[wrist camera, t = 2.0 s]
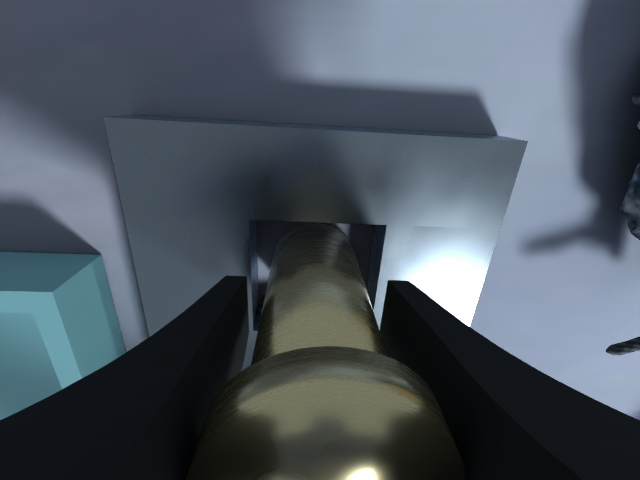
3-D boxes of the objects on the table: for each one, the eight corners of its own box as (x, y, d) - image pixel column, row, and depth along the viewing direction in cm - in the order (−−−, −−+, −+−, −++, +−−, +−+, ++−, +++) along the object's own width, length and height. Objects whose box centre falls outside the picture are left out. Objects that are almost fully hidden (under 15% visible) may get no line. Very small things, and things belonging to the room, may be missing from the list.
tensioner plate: (407, 465, 18) (445, 600, 13) (193, 467, 17) (149, 611, 12) (499, 136, 11) (661, 166, 6) (131, 114, 10) (-37, 130, 5)
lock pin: (363, 308, 13) (434, 562, 6) (258, 306, 13) (199, 568, 6) (376, 209, 12) (500, 401, 4) (256, 204, 11) (165, 399, 4)
